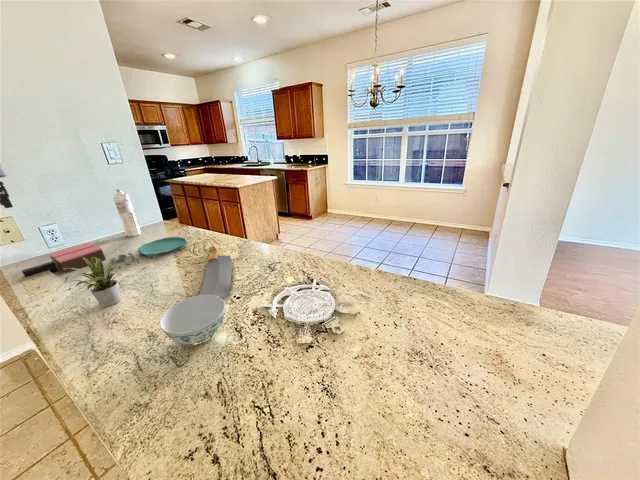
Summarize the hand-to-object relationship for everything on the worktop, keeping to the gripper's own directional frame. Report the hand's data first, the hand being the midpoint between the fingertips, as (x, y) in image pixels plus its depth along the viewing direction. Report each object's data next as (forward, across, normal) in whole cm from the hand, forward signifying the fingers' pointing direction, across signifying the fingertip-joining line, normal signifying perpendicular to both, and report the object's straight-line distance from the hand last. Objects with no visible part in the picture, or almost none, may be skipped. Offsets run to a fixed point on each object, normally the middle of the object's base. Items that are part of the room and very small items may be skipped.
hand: (7, 206), depth 108 cm
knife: (+25, +21, +5) cm, 33 cm away
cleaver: (+25, +83, +36) cm, 94 cm away
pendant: (+25, +126, +37) cm, 133 cm away
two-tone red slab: (+25, +21, +11) cm, 34 cm away
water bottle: (+25, +4, +38) cm, 46 cm away
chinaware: (+25, +108, +13) cm, 111 cm away
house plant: (+25, +67, +5) cm, 72 cm away
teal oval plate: (+25, +40, +32) cm, 57 cm away
